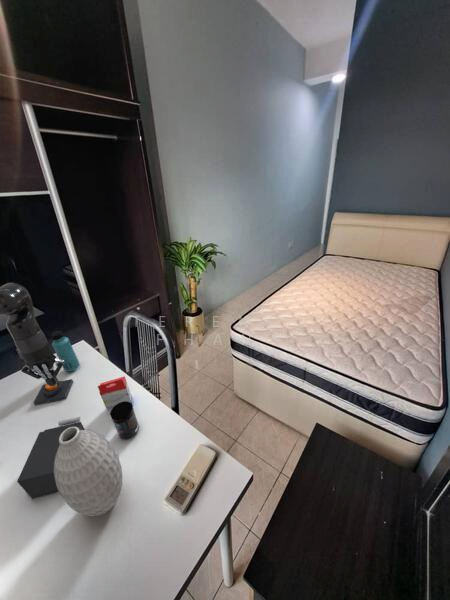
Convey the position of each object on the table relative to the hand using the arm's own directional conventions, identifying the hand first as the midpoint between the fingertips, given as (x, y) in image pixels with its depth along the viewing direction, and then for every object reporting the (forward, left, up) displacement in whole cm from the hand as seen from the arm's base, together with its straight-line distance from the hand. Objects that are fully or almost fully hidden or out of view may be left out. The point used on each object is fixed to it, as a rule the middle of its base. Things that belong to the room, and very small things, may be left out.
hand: (53, 384), depth 86 cm
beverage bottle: (-4, +22, -13) cm, 26 cm away
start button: (-7, +9, -10) cm, 15 cm away
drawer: (+6, -19, -12) cm, 23 cm away
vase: (+20, -35, -13) cm, 42 cm away
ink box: (+20, -5, -13) cm, 24 cm away
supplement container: (+24, -16, -13) cm, 31 cm away
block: (-7, +9, -13) cm, 17 cm away
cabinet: (+6, -23, -13) cm, 27 cm away
